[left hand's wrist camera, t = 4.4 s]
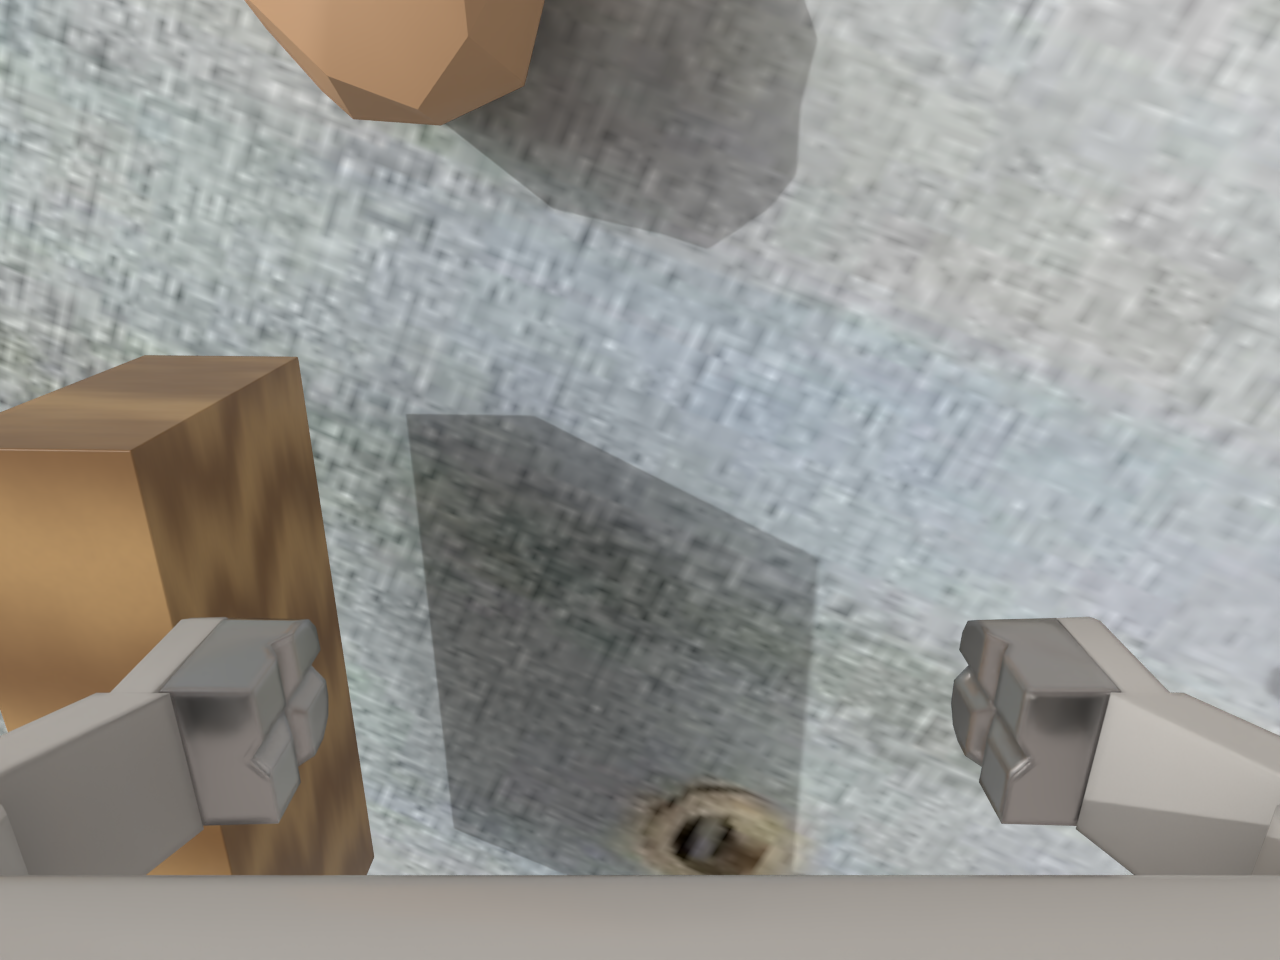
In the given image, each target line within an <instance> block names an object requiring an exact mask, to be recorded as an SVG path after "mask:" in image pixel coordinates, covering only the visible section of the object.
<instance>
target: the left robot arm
mask: <svg viewBox="0 0 1280 960" xmlns="http://www.w3.org/2000/svg"><path fill="white" fill-rule="evenodd" d="M320 650H321V648H320V644H319V639H318V634H317V629H316V626H315V625H314V624H313V623H312V622H311V621H310V620H309V619H275V618H227V617H200V618H188V619H182V620H181V621H180V622H179V623H178V624H177V625H176V626H175V627H174V628H173V629H172V630H171V631H170V632H169V633H168V634H167V635H166V636H165V637H164V638H163V639H162V640H161V641H160V642H159V643H158V644H157V645H156V646H155V647H154V648H153V649H152V650H151V651H150V652H149V653H148V654H147V655H146V656H145V657H144V658H143V659H142V660H141V661H140V662H139V663H138V664H137V665H136V667H135V668H134V669H133V670H132V671H131V672H130V673H129V674H128V675H127V676H126V677H125V678H124V679H123V680H122V681H121V682H120V683H119V684H118V685H117V686H116V687H115V688H114V689H113V690H112V691H111V692H110V693H95V694H93V695H90V696H88V697H86V698H84V699H81V700H79V701H77V702H75V703H73V704H70V705H68V706H66V707H64V708H61V709H59V710H57V711H55V712H52V713H50V714H48V715H46V716H44V717H41V718H39V719H37V720H35V721H32V722H30V723H28V724H26V725H23V726H21V727H19V728H17V729H15V730H12V731H10V732H8V733H6V734H3V735H1V736H0V960H1280V736H1279V735H1276V734H1274V733H1272V732H1270V731H1267V730H1265V729H1263V728H1261V727H1259V726H1256V725H1254V724H1252V723H1250V722H1247V721H1245V720H1243V719H1241V718H1239V717H1236V716H1234V715H1232V714H1230V713H1227V712H1225V711H1223V710H1221V709H1219V708H1216V707H1214V706H1212V705H1210V704H1207V703H1205V702H1203V701H1201V700H1198V699H1196V698H1194V697H1192V696H1190V695H1187V694H1185V693H1170V692H1169V691H1168V690H1167V689H1166V688H1165V687H1164V686H1163V685H1162V684H1161V683H1160V682H1159V681H1158V680H1157V679H1156V678H1155V677H1154V676H1153V675H1152V674H1151V673H1150V672H1149V671H1148V669H1147V668H1146V667H1145V666H1144V665H1143V664H1142V663H1141V662H1140V661H1139V660H1138V659H1137V658H1136V657H1135V656H1134V655H1133V654H1132V653H1131V652H1130V651H1129V650H1128V649H1127V648H1126V647H1125V646H1124V645H1123V644H1122V643H1121V642H1120V641H1119V640H1118V639H1117V638H1116V637H1115V636H1114V635H1113V634H1112V633H1111V632H1110V631H1109V629H1108V628H1107V627H1106V626H1105V625H1104V624H1103V623H1102V622H1101V621H1099V620H1097V619H1094V618H1091V617H1070V618H1041V619H1000V620H971V621H968V622H967V624H966V626H965V628H964V630H963V632H962V637H961V643H960V648H959V650H960V652H961V653H962V655H963V657H964V658H965V660H966V662H967V663H968V666H967V667H966V668H965V669H964V670H963V672H962V673H961V674H960V675H959V676H958V677H957V678H956V679H955V680H954V685H953V692H952V700H951V708H952V720H953V727H954V730H955V734H956V737H957V741H958V743H959V745H960V747H961V749H962V751H963V753H964V755H965V756H966V757H968V758H969V759H971V760H972V761H974V762H975V763H977V764H978V765H980V766H981V767H982V769H981V774H980V780H979V783H980V785H981V787H982V788H983V790H984V792H985V794H986V796H987V798H988V799H989V801H990V803H991V805H992V807H993V809H994V811H995V812H996V814H997V816H998V818H999V820H1000V822H1001V823H1002V824H1033V825H1069V826H1077V827H1076V829H1077V830H1078V831H1079V832H1080V833H1082V834H1083V835H1084V836H1085V837H1087V838H1088V839H1089V840H1091V841H1092V842H1093V843H1094V844H1096V845H1097V846H1098V847H1099V848H1101V849H1102V850H1103V851H1105V852H1106V853H1107V854H1108V855H1110V856H1111V857H1112V858H1113V859H1115V860H1116V861H1117V862H1118V863H1120V864H1121V865H1122V866H1124V867H1125V868H1126V869H1127V870H1129V871H1130V872H1131V873H1132V874H1134V875H147V874H148V873H149V872H150V871H152V870H153V869H154V868H155V867H157V866H158V865H159V864H161V863H162V862H163V861H164V860H166V859H167V858H168V857H169V856H171V855H172V854H173V853H175V852H176V851H177V850H178V849H180V848H181V847H182V846H183V845H185V844H186V843H187V842H188V841H190V840H191V839H192V838H194V837H195V836H196V835H197V834H199V833H200V832H201V831H202V830H204V827H203V826H210V825H246V824H279V822H280V820H281V818H282V816H283V814H284V812H285V811H286V809H287V807H288V805H289V803H290V801H291V799H292V798H293V796H294V794H295V792H296V790H297V788H298V786H299V785H300V783H301V780H300V774H299V769H298V767H299V766H300V765H302V764H303V763H305V762H306V761H308V760H309V759H311V758H312V757H314V756H315V754H316V752H317V750H318V748H319V746H320V744H321V742H322V740H323V738H324V734H325V729H326V725H327V720H328V691H327V684H326V680H325V679H324V678H323V677H322V676H321V675H320V674H319V673H318V672H317V671H316V670H315V668H314V667H313V666H312V663H313V662H314V660H315V658H316V657H317V655H318V653H319V652H320Z"/></svg>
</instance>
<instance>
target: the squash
mask: <svg viewBox="0 0 1280 960" xmlns="http://www.w3.org/2000/svg"><path fill="white" fill-rule="evenodd" d="M245 1H246V3H247V4H248V5H249V7H250V8H251V9H252V11H253V12H254V13H255V15H256V16H257V17H258V18H259V20H260V21H261V22H262V24H263V25H264V26H265V28H266V29H267V30H268V31H269V32H270V33H271V34H272V35H273V37H274V38H275V39H276V40H277V41H278V42H279V43H280V44H281V46H282V47H283V48H284V49H285V50H286V51H287V52H288V53H289V54H290V56H291V57H292V58H293V59H294V60H295V61H296V62H297V63H298V65H299V66H300V67H301V68H302V69H303V70H304V71H305V72H306V73H307V75H308V76H309V77H310V78H311V79H312V80H313V81H314V82H315V84H316V85H317V86H318V87H319V88H320V89H321V90H322V91H323V92H324V93H325V94H326V95H327V96H328V97H329V98H330V99H332V100H333V101H334V102H335V103H336V104H337V105H338V106H339V107H340V108H342V109H343V110H344V111H345V112H346V113H347V114H348V115H349V116H350V117H352V118H353V119H359V120H373V121H387V122H401V123H415V124H429V125H443V124H445V123H447V122H449V121H451V120H453V119H455V118H458V117H460V116H462V115H464V114H466V113H468V112H470V111H472V110H474V109H477V108H479V107H481V106H483V105H485V104H487V103H489V102H491V101H493V100H496V99H498V98H500V97H502V96H504V95H506V94H508V93H510V92H512V91H515V90H517V89H519V88H521V87H523V86H524V85H525V81H526V77H527V72H528V68H529V64H530V60H531V56H532V51H533V47H534V43H535V39H536V35H537V30H538V26H539V22H540V18H541V14H542V9H543V5H544V1H545V0H245Z"/></svg>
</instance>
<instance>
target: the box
mask: <svg viewBox="0 0 1280 960" xmlns="http://www.w3.org/2000/svg"><path fill="white" fill-rule="evenodd" d="M200 617H227V618H275V619H309V620H310V621H311V622H312V623H313V624H314V625H315V626H316V629H317V634H318V639H319V644H320V648H321V650H320V652H319V653H318V655H317V657H316V658H315V660H314V662H313V663H312V666H313V667H314V668H315V670H316V671H317V672H318V673H319V674H320V675H321V676H322V677H323V678H324V679H325V680H326V684H327V691H328V720H327V725H326V729H325V734H324V738H323V740H322V742H321V744H320V746H319V748H318V750H317V752H316V754H315V756H314V757H312V758H311V759H309V760H308V761H306V762H305V763H303V764H302V765H300V766H299V767H298V769H299V774H300V780H301V783H300V785H299V786H298V788H297V790H296V792H295V794H294V796H293V798H292V799H291V801H290V803H289V805H288V807H287V809H286V811H285V812H284V814H283V816H282V818H281V820H280V822H279V824H246V825H210V826H203V827H204V830H202V831H201V832H200V833H199V834H197V835H196V836H195V837H194V838H192V839H191V840H190V841H188V842H187V843H186V844H185V845H183V846H182V847H181V848H180V849H178V850H177V851H176V852H175V853H173V854H172V855H171V856H169V857H168V858H167V859H166V860H164V861H163V862H162V863H161V864H159V865H158V866H157V867H155V868H154V869H153V870H152V871H150V872H149V873H148V874H147V875H367V873H368V871H369V868H370V866H371V863H372V861H373V859H374V852H373V846H372V839H371V833H370V826H369V820H368V813H367V807H366V800H365V793H364V787H363V780H362V774H361V767H360V761H359V754H358V748H357V741H356V734H355V728H354V721H353V715H352V708H351V702H350V695H349V689H348V682H347V675H346V669H345V662H344V656H343V649H342V643H341V636H340V630H339V623H338V616H337V610H336V603H335V597H334V590H333V584H332V577H331V571H330V564H329V557H328V551H327V544H326V538H325V531H324V525H323V518H322V512H321V505H320V498H319V492H318V485H317V479H316V472H315V466H314V459H313V453H312V446H311V439H310V433H309V426H308V420H307V413H306V407H305V400H304V394H303V387H302V380H301V374H300V367H299V361H298V357H263V356H163V355H144V356H142V357H139V358H137V359H134V360H132V361H129V362H127V363H124V364H122V365H119V366H117V367H114V368H111V369H109V370H106V371H104V372H101V373H99V374H96V375H94V376H91V377H89V378H86V379H84V380H81V381H79V382H76V383H73V384H71V385H68V386H66V387H63V388H61V389H58V390H56V391H53V392H51V393H48V394H46V395H43V396H41V397H38V398H36V399H33V400H30V401H28V402H25V403H23V404H20V405H18V406H15V407H13V408H10V409H8V410H5V411H3V412H0V710H1V713H2V716H3V719H4V722H5V725H6V728H7V731H8V732H10V731H12V730H15V729H17V728H19V727H21V726H23V725H26V724H28V723H30V722H32V721H35V720H37V719H39V718H41V717H44V716H46V715H48V714H50V713H52V712H55V711H57V710H59V709H61V708H64V707H66V706H68V705H70V704H73V703H75V702H77V701H79V700H81V699H84V698H86V697H88V696H90V695H93V694H95V693H110V692H111V691H112V690H113V689H114V688H115V687H116V686H117V685H118V684H119V683H120V682H121V681H122V680H123V679H124V678H125V677H126V676H127V675H128V674H129V673H130V672H131V671H132V670H133V669H134V668H135V667H136V665H137V664H138V663H139V662H140V661H141V660H142V659H143V658H144V657H145V656H146V655H147V654H148V653H149V652H150V651H151V650H152V649H153V648H154V647H155V646H156V645H157V644H158V643H159V642H160V641H161V640H162V639H163V638H164V637H165V636H166V635H167V634H168V633H169V632H170V631H171V630H172V629H173V628H174V627H175V626H176V625H177V624H178V623H179V622H180V621H181V620H182V619H188V618H200Z"/></svg>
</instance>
